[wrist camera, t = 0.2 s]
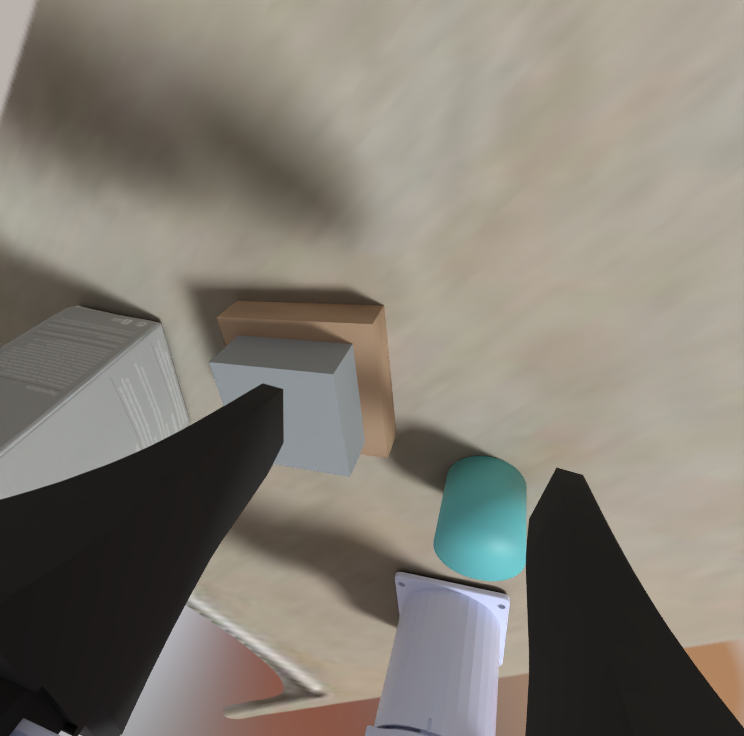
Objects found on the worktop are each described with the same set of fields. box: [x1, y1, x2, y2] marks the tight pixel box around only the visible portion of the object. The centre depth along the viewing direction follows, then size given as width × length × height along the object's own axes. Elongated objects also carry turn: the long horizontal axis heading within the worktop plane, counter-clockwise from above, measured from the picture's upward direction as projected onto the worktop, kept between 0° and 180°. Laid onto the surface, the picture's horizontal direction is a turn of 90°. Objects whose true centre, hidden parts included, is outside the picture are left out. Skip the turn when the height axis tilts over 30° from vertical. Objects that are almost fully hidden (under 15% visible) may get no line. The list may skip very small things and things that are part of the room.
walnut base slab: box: [216, 301, 396, 458], centre depth 23 cm, size 8×8×2 cm
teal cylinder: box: [434, 456, 526, 581], centre depth 23 cm, size 4×4×4 cm
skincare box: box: [0, 305, 190, 499], centre depth 22 cm, size 8×7×16 cm
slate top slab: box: [209, 335, 365, 477], centre depth 21 cm, size 6×6×2 cm
